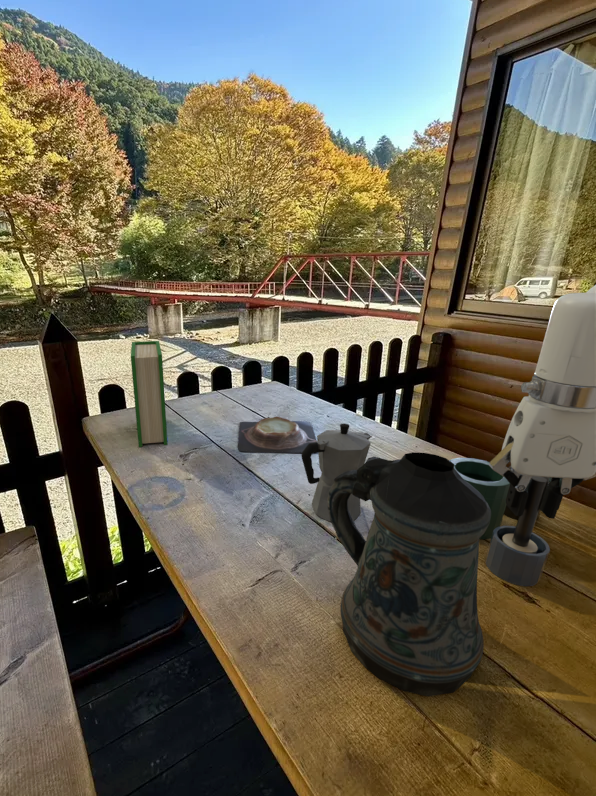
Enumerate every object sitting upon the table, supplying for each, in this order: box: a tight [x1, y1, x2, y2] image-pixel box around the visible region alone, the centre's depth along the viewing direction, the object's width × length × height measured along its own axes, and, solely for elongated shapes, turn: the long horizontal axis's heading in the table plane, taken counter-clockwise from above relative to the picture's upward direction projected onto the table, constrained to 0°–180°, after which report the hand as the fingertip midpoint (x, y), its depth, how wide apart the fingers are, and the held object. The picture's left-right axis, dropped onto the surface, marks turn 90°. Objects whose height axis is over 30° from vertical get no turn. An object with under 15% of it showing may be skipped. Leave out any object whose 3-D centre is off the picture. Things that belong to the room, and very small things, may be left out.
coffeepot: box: [301, 423, 373, 523], centre depth 76 cm, size 15×9×18 cm, turn 115°
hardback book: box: [130, 340, 168, 448], centre depth 110 cm, size 18×7×24 cm, turn 11°
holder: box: [485, 525, 551, 587], centre depth 63 cm, size 7×7×6 cm
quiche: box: [237, 416, 317, 454], centre depth 111 cm, size 21×20×4 cm
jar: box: [448, 457, 510, 540], centre depth 73 cm, size 10×10×11 cm
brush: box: [502, 476, 548, 554], centre depth 61 cm, size 4×4×16 cm
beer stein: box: [327, 451, 491, 697], centre depth 49 cm, size 16×19×25 cm
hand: (529, 510), depth 60 cm, fingers open, 3 cm apart
